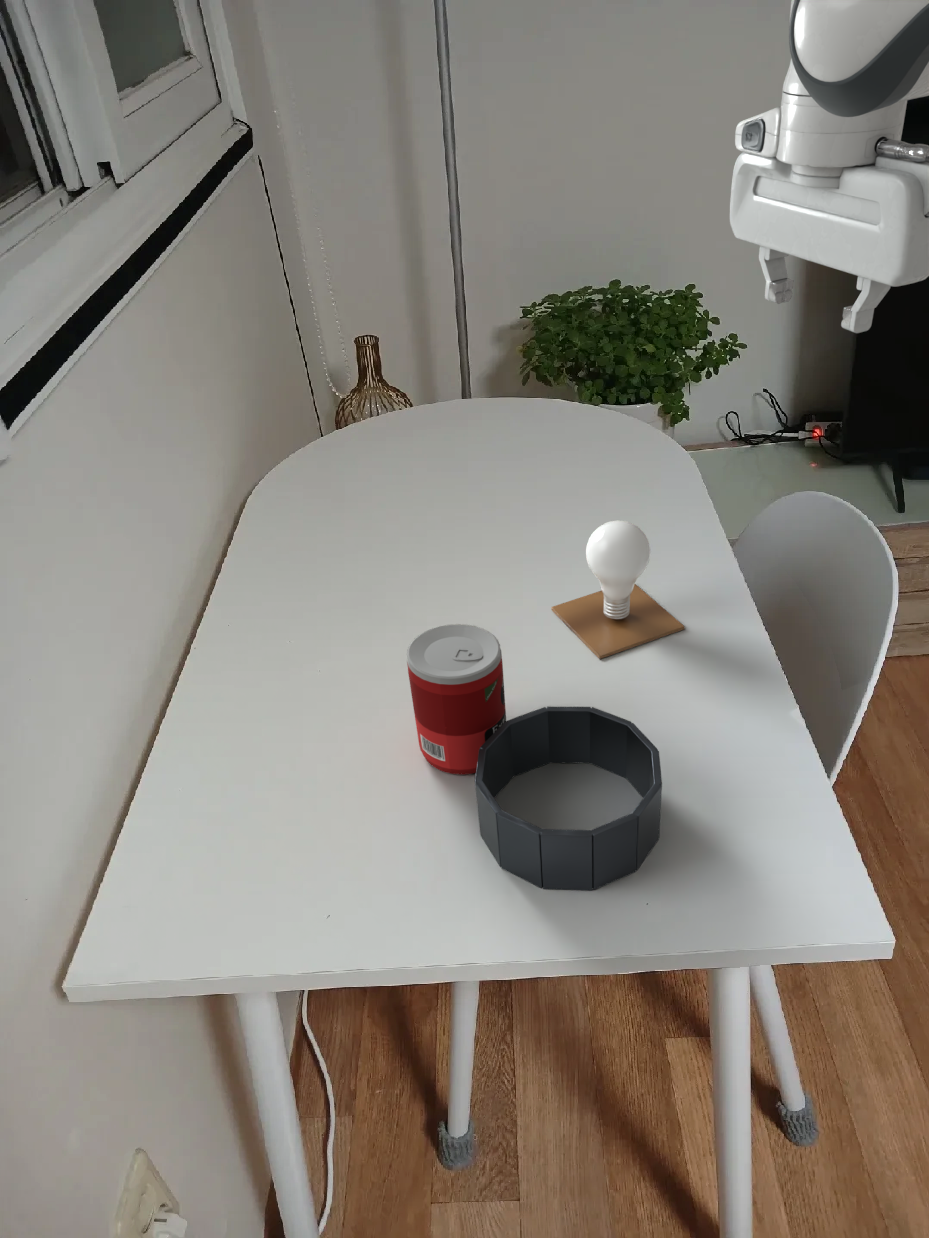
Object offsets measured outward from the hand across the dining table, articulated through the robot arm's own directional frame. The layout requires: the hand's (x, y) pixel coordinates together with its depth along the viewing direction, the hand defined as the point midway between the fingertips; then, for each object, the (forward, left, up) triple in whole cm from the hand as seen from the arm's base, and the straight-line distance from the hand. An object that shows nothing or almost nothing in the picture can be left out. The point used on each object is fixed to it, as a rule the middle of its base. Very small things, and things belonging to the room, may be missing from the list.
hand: (814, 314), depth 80 cm
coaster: (+8, +14, -31) cm, 35 cm away
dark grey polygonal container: (-14, +32, -31) cm, 47 cm away
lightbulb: (+8, +14, -31) cm, 35 cm away
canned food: (-2, +36, -31) cm, 48 cm away
